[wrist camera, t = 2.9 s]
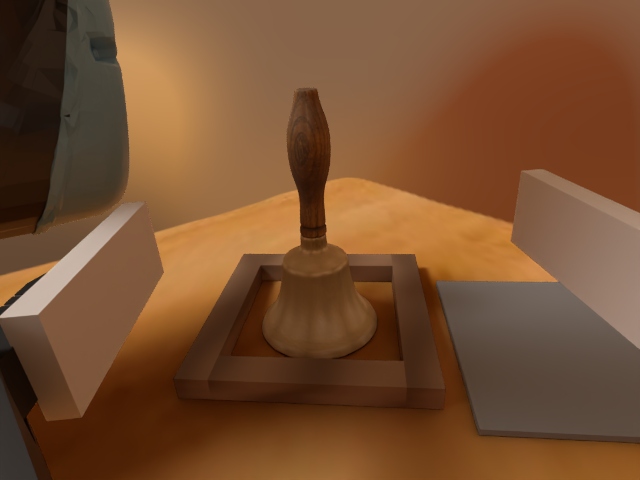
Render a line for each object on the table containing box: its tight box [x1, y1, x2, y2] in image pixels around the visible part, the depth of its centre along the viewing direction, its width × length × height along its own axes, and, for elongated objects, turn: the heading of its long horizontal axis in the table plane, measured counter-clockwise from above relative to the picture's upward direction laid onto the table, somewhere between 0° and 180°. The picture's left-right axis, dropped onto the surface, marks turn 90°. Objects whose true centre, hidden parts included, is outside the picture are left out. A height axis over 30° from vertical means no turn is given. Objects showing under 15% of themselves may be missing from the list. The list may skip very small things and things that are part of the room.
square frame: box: [173, 254, 446, 409], centre depth 29 cm, size 15×15×2 cm
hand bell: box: [262, 88, 377, 359], centre depth 26 cm, size 8×8×16 cm
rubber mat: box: [436, 281, 640, 443], centre depth 26 cm, size 14×14×1 cm
